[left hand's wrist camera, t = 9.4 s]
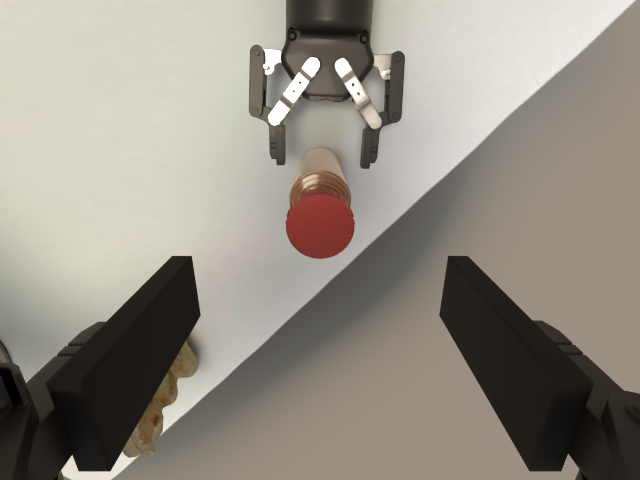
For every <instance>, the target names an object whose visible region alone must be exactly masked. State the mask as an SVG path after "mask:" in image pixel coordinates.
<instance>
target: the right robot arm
mask: <svg viewBox="0 0 640 480" xmlns="http://www.w3.org/2000/svg"><path fill="white" fill-rule="evenodd" d="M372 8H373V0H286V42H285V45H284V47H283V49H282V51H278V50H269V49H263V48H262V47H261V46H259V45H254V46H252V48H251V50H250V83H249V112H250V114H251V115H252V116H253V117H257V118H259V119H261V120H264V121H265V122H267V124H268V125H269V138H270V155H271V158H272V159H276V161H277V165H284V164H285V126H284V125H283V121H284V119H285V118H286V116H287V115H288V114H289V112H290V111H291V110H292V108H293V107H294V106H295V105H296V103H297V102H298V101H299V99H300V98H301V97H302V96H303V97H304V98H306V99H307V100H309V101H320V100H324V99H327V100H330V101H333V102H343V101H345V100H347V99H349V98H350V100H351V102H352V103H353V105H354V106H355V108H356V109H357V110H358V112H359V114H360V115H361V117H362V118H363V120H364V122H365V123H366V126H365V129H363V135H362V148H361V161H360V166H361V168H364V169H369V167H370V163H375V161H376V159H377V151H378V141H379V132H380V130H381V128H382V127H383V126H385V125H388V124H391V123H396V122H398V121H399V120H400V119H401V115H402V98H403V80H404V63H405V56H404V54H403V53H402V52H400V51H397V52H395V53H393V54H378V55H373V52H372V50H371V46H370V34H371V21H372ZM279 63H282V66H283V67H284V69H285V70H286V72H287V73H288V75H289V77H290V78H291V80H292V83H291V84H290V85H289V87H288V88H287V90H286V91H285V92H284V94H283V95H282V97H281V99H280V100H279V102H278V103H277V105H276V106H275V107H274V109H271V108H269V107H266V89H267V75H268V76H269V75H272V74H273V73H274V70H275V67H276V65H277V64H279ZM372 67H375V68H376V69H377V70H378V72H379V77H380V78H381V79H382V80H385V104H384V111H383V112H380V113H377V111H376V110H375V108H374V106H373V105H372V103H371V100H370V98H369V97H368V95H367V93H366V92H365V90H364V88H363V87H362V85H361V83H362V81H363V80H364V79H365V77H366V76H367V75H368V73H369V72H370V70H371V69H372Z"/></svg>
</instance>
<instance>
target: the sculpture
mask: <svg viewBox="0 0 640 480" xmlns="http://www.w3.org/2000/svg"><path fill="white" fill-rule="evenodd" d="M197 369H198V361H197V358H196V356H195V354H194V353H193V351H192V350H191V349H190V347H189V346H188V344H187V340H186V341H185V343H184V345H183V347H182V348H181V350H180V352H179V354H178V355H177V357H176V359H175V360H174V362H173V364H172V366H171V367H170V369H169V371H168V373H167V374H166V376H165V378H164V379H163V381H162V383H161V385H160V386H159V388H158V390H157V392H156V393H155V395H154V397H153V398H152V400H151V402H150V404H149V405H148V407H147V409H146V411H145V412H144V414H143V416H142V417H141V419H140V421H139V423H138V424H137V426H136V428H135V430H134V431H133V433H132V435H131V437H130V438H129V440H128V442H127V443H126V445H125V447H124V449H123V450H122V451H123V453H124V454H125V455H126V456H127V457H136V456H138V455H141V454H147V455H150V454H154V453H155V448H154V446H155V444H156V442H157V440H158V438H159V436H160V434H161V433H162V430H163V414H162V409H163V408H164V407H166V406H168V405H171V404H172V403H174V402H175V400H176V398H177V395H178V390H177V380H178V378H184V377H191V376H193V375H194V374H195V372H196V371H197Z"/></svg>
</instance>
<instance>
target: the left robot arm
mask: <svg viewBox="0 0 640 480" xmlns="http://www.w3.org/2000/svg"><path fill="white" fill-rule="evenodd" d="M200 316H201V315H200V308H199V301H198V295H197V288H196V281H195V275H194V268H193V261H192V256H172V257H171V258H170V259H169V260H168V261H167V262H166V263H165V264H164V265H163V266H162V267H161V268H160V269H159V270H158V271H157V272H156V273H155V274H154V275H153V276H152V277H151V278H150V279H149V280H148V281H147V282H146V283H145V284H144V285H143V286H142V287H141V288H140V289H139V290H138V291H137V292H136V293H135V294H134V295H133V296H132V297H131V298H130V299H129V300H128V301H127V302H126V303H125V304H124V305H123V306H122V307H121V308H120V309H119V310H118V311H117V312H116V313H115V314H114V315H113V316H112V317H111V318H110V319H109V320H108V321H107V322H97V323H96V324H94V325H92V326H90V327H89V328H87V329H85V330H84V331H82V332H80V333H79V334H78V335H77V336H76V337H75V338H74V339H73V340H72V341H71V342H70V343H69V344H68V346H65V347H64V348H63V349H62V350H61V351H60V352H59V353H58V355H57V357H54V358H53V359H52V360H50V361H49V362H48V363H47V364H46V365H45V366H44V367H43V368H42V369H41V370H40V371H39V372H38V373H37V374H35V375H34V376H33V377H32V378H31V379H30V380H29V381H28V382H27V383H25V380H24V378H23V375H22V373H21V370H20V368H19V366H17V365H15V364H14V363H10V359H9V356H8V354H7V352H6V350H5V349H4V347H3V346H2V345H1V343H0V480H64V478H63V474H62V472H61V469H62V468H63V467H64V465H65V464H66V462H67V461H68V460H69V458H70V457H71V456H72V455H73V457H74V460H75V463H76V465H77V468H78V471H111V469H112V468H113V466H114V464H115V462H116V461H117V459H118V457H119V456H120V454H121V452H122V450H123V449H124V447H125V445H126V443H127V442H128V440H129V438H130V437H131V435H132V433H133V431H134V430H135V428H136V426H137V424H138V423H139V421H140V419H141V417H142V416H143V414H144V412H145V411H146V409H147V407H148V405H149V404H150V402H151V400H152V398H153V397H154V395H155V393H156V392H157V390H158V388H159V386H160V385H161V383H162V381H163V379H164V378H165V376H166V374H167V373H168V371H169V369H170V367H171V366H172V364H173V362H174V360H175V359H176V357H177V355H178V354H179V352H180V350H181V348H182V347H183V345H184V343H185V341H186V340H187V338H188V336H189V335H190V333H191V331H192V329H193V328H194V326H195V324H196V322H197V321H198V319H199V317H200ZM440 317H441V319H442V321H443V322H444V324H445V326H446V327H447V329H448V331H449V333H450V335H451V336H452V338H453V340H454V341H455V343H456V345H457V347H458V348H459V350H460V352H461V354H462V355H463V357H464V359H465V360H466V362H467V364H468V366H469V367H470V369H471V371H472V372H473V374H474V376H475V378H476V379H477V381H478V383H479V385H480V386H481V388H482V390H483V392H484V393H485V395H486V397H487V398H488V400H489V402H490V404H491V405H492V407H493V409H494V411H495V412H496V414H497V416H498V417H499V419H500V421H501V423H502V424H503V426H504V428H505V430H506V431H507V433H508V435H509V436H510V438H511V440H512V442H513V443H514V445H515V447H516V449H517V450H518V452H519V454H520V456H521V457H522V459H523V461H524V462H525V464H526V466H527V468H528V469H529V471H562V468H563V465H564V463H565V460H566V457H567V455H568V454H569V455H570V456H571V458H572V459H573V461H574V462H575V463H576V465H577V466H578V468H579V472H578V474H577V477H576V479H575V480H640V394H638V393H633V392H629V391H624V390H623V389H622V388H620V387H619V386H618V385H617V384H616V383H615V382H614V381H613V380H612V379H611V378H610V377H609V376H607V375H606V374H605V373H604V372H603V371H602V370H601V369H600V368H599V367H598V366H597V365H596V364H595V363H593V362H592V361H591V360H590V359H589V358H588V357H587V356H586V355H583V352H582V351H581V350H579V349H578V348H577V347H576V346H575V345H572V342H571V341H570V340H569V339H568V338H567V337H565V336H564V335H563V334H562V333H561V332H560V331H559V330H557V329H555V328H554V327H552V326H550V325H548V324H547V323H545V322H543V321H532V320H531V319H530V318H529V317H528V316H527V315H526V314H525V313H524V312H523V311H522V310H521V309H520V308H519V307H518V306H517V305H516V304H515V303H514V302H513V301H512V300H511V299H510V298H509V297H508V296H507V295H506V294H505V293H504V292H503V291H502V290H501V289H500V288H499V287H498V286H497V285H496V284H495V283H494V282H493V281H492V280H491V279H490V278H489V277H488V276H487V275H486V274H485V273H484V272H483V271H482V270H481V269H480V268H479V267H478V266H477V265H476V264H475V263H474V262H473V261H472V260H471V259H470V258H469V257H468V256H448V261H447V268H446V275H445V281H444V288H443V295H442V301H441V308H440Z"/></svg>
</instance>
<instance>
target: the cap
mask: <svg viewBox="0 0 640 480" xmlns="http://www.w3.org/2000/svg"><path fill="white" fill-rule="evenodd" d="M353 217H354V216H353V212H352V210H351V208H350V205H349V203H347V201H346V200H345V197H344V198H343V197H342V196H341V195H340V194H339V192H338V193H337V192H335V191H333V190H332V189H331V190H330V189H326V188H325V187H324V188H317V187H316V188H314V189H308V190H307V191H305V192H302V193H301V194H300V195H299V196H298V197H296V198H295V200H294V202H293V203H291V206H290V210H288V214H287V220H286V231H287V235H288V238H289V240H290V242H291V244H292V245H293V246H294V247H295V248H296V249H297V250H298V251H299V252H300V253H302V254H304V255H306V256H308V257H312V258H319V259H322V258H329V257H332V256H335V255H337V254H338V253H340V252H341V251H343V250H344V249H345V248H346V247H347V246H348V244H349V243H350V241H351V239H352V237H353V233H354V224H355V223H354V219H353Z"/></svg>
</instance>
